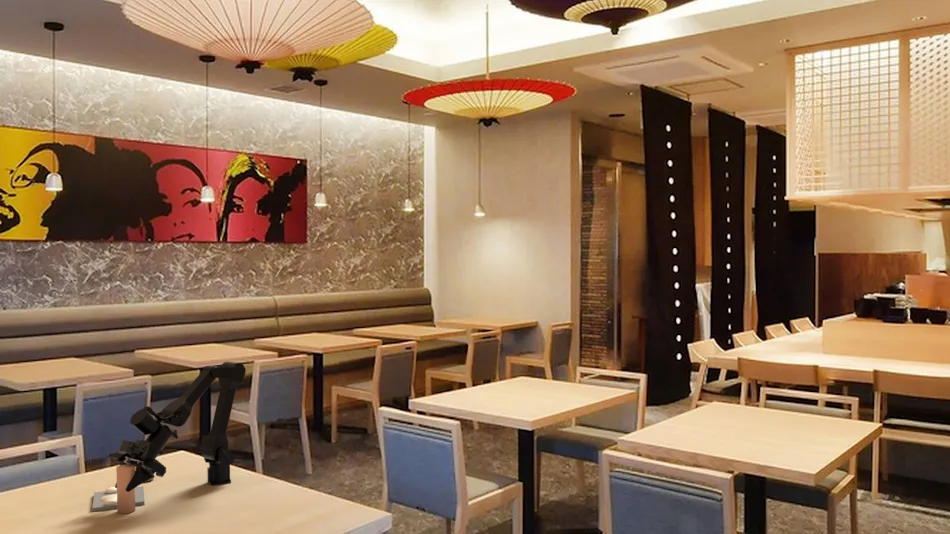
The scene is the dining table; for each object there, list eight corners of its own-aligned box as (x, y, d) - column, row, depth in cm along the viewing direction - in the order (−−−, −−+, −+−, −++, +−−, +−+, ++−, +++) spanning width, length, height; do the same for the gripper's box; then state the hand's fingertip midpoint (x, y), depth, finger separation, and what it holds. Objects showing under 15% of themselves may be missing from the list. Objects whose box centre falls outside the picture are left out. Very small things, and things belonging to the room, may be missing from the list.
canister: (135, 506, 226) (134, 463, 226) (135, 511, 222) (134, 467, 221) (117, 509, 224) (116, 465, 224) (117, 514, 220) (116, 469, 219)
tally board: (143, 489, 243) (143, 483, 243) (144, 504, 228) (144, 498, 228) (94, 495, 237) (94, 489, 237) (92, 511, 223) (92, 504, 223)
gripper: (118, 424, 230) (83, 470, 221) (156, 432, 220) (121, 480, 211) (142, 444, 237) (110, 489, 228) (180, 453, 227) (147, 500, 218)
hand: (121, 489), depth 221 cm, fingers closed on canister, 5 cm apart
